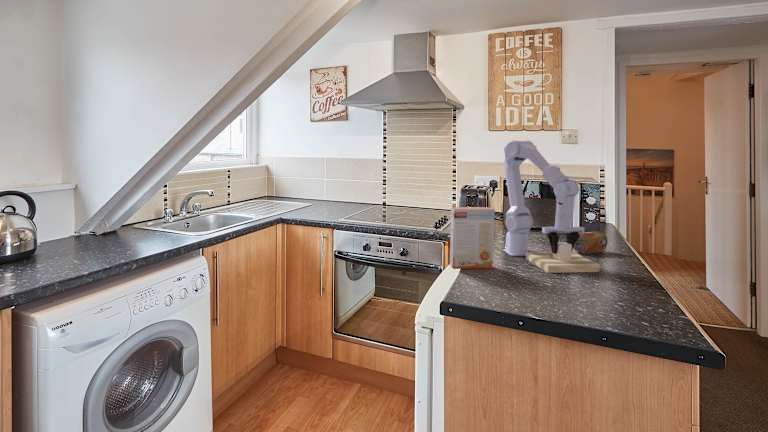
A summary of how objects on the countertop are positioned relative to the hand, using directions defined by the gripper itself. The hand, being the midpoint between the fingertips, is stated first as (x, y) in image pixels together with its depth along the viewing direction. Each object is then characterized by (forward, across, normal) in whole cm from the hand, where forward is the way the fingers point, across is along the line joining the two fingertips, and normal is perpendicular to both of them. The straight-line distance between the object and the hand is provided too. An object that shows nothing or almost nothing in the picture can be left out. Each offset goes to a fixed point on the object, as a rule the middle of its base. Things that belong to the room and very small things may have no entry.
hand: (561, 253), depth 149 cm
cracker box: (+5, -33, -1) cm, 33 cm away
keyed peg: (+4, 0, 0) cm, 4 cm away
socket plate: (+4, 0, 0) cm, 4 cm away
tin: (+5, +21, +18) cm, 28 cm away
